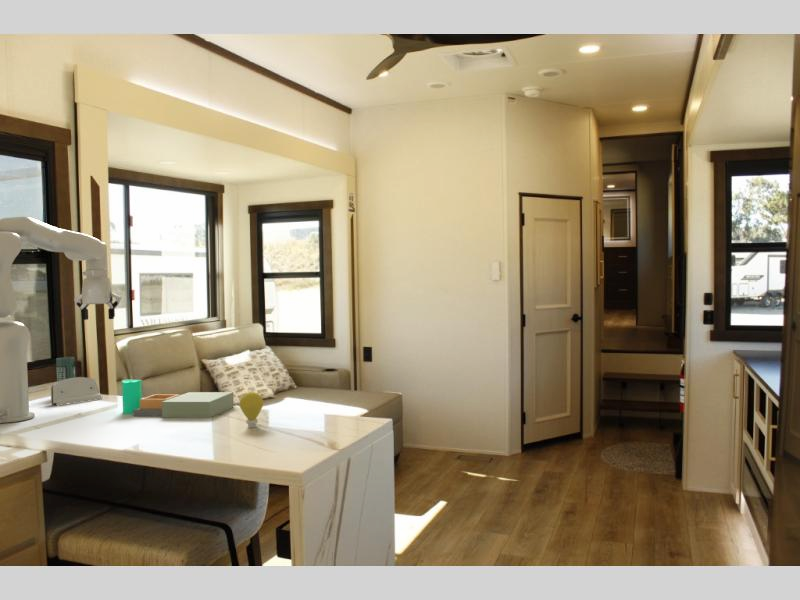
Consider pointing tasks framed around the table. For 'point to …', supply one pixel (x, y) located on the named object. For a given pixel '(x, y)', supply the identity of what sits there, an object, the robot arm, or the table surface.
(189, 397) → the desk organizer
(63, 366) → the can
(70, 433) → the table surface
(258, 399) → the light bulb
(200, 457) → the table surface
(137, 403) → the candle
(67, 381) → the hinge
